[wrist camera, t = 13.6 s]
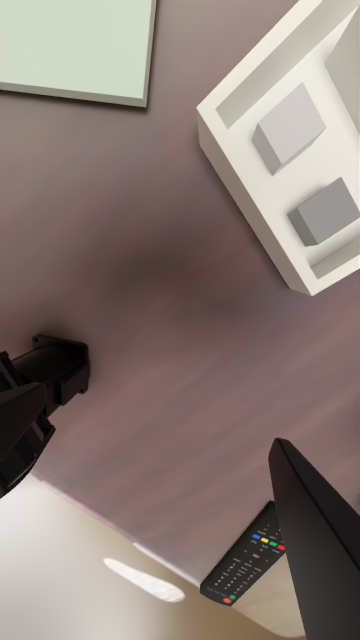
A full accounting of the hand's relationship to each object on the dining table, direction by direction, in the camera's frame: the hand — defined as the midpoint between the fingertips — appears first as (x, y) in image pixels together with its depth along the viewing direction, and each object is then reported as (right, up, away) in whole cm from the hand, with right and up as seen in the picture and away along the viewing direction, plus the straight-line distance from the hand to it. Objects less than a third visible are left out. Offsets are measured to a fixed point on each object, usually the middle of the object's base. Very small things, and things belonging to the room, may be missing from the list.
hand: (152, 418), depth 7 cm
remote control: (+11, -31, +22) cm, 39 cm away
